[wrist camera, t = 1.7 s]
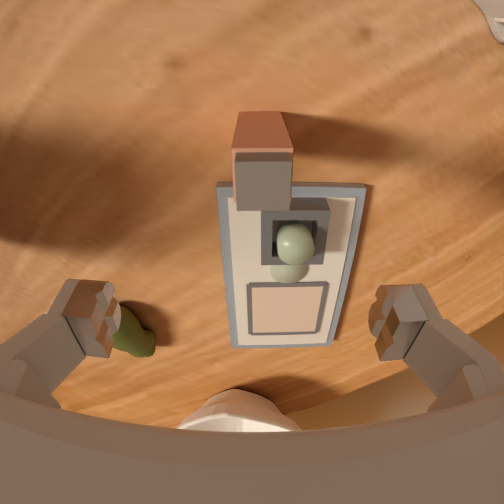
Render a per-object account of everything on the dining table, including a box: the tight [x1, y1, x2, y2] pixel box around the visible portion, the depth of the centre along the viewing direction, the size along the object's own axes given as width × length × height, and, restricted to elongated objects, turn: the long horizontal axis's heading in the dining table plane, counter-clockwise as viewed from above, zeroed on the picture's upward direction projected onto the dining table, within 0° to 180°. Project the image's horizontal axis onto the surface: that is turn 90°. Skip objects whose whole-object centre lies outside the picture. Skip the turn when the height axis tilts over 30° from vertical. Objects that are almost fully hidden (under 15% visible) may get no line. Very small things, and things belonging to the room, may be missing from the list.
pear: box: [112, 306, 156, 357], centre depth 40 cm, size 6×5×10 cm
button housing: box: [261, 197, 330, 265], centre depth 30 cm, size 6×6×2 cm
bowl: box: [176, 389, 302, 432], centre depth 52 cm, size 21×21×9 cm
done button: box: [276, 220, 315, 265], centre depth 29 cm, size 3×3×2 cm
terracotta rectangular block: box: [231, 112, 293, 211], centre depth 22 cm, size 4×4×12 cm
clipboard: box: [216, 182, 367, 348], centre depth 36 cm, size 14×24×1 cm, turn 1°
